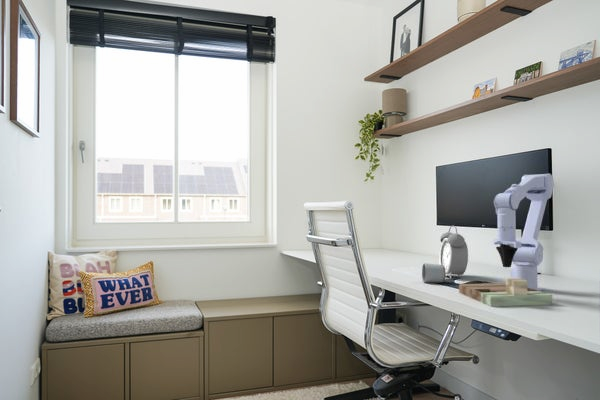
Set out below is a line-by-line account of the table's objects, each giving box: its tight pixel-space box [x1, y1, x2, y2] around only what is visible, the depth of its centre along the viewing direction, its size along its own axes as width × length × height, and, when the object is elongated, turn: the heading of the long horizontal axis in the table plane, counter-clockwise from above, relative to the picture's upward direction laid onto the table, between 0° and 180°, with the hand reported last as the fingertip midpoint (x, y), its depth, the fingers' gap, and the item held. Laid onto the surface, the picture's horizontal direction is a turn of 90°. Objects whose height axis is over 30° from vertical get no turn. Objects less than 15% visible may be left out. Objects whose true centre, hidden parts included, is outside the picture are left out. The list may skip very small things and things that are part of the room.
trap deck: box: [458, 282, 553, 307], centre depth 154 cm, size 22×20×3 cm
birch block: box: [505, 277, 527, 295], centre depth 145 cm, size 4×4×4 cm
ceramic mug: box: [421, 262, 447, 284], centre depth 187 cm, size 11×8×8 cm
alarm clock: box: [438, 225, 469, 280], centre depth 199 cm, size 16×9×22 cm, turn 0°
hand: (506, 267), depth 160 cm, fingers closed
